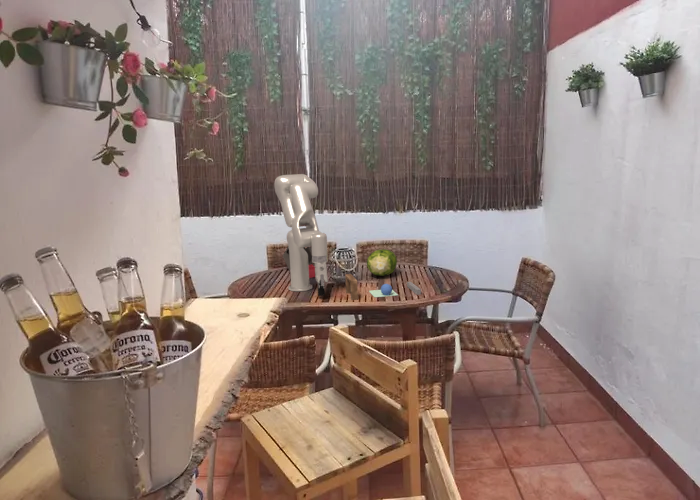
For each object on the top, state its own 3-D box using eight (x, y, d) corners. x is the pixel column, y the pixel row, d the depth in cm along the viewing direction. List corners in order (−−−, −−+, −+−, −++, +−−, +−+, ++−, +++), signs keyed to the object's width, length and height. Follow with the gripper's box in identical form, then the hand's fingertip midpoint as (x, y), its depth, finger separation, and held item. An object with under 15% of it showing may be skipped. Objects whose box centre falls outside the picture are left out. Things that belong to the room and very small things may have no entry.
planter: (278, 263, 319) (294, 235, 313) (281, 260, 326) (298, 232, 321) (301, 278, 318) (318, 250, 313) (304, 275, 325) (321, 248, 320)
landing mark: (368, 291, 268) (368, 290, 268) (391, 289, 270) (391, 288, 270) (374, 297, 256) (374, 296, 256) (398, 295, 259) (398, 294, 259)
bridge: (351, 300, 253) (351, 281, 251) (345, 292, 267) (345, 274, 265) (357, 299, 254) (357, 280, 252) (351, 291, 268) (351, 273, 266)
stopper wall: (407, 286, 274) (407, 282, 273) (410, 286, 274) (410, 281, 274) (416, 294, 258) (416, 289, 258) (420, 294, 259) (420, 289, 258)
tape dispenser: (316, 279, 297) (315, 270, 296) (299, 278, 301) (299, 269, 300) (325, 273, 310) (325, 265, 309) (310, 272, 314) (309, 264, 313)
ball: (381, 295, 262) (377, 285, 261) (391, 291, 263) (388, 280, 262) (384, 298, 257) (380, 287, 256) (395, 293, 258) (391, 283, 256)
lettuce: (364, 281, 288) (364, 254, 285) (370, 272, 308) (369, 246, 305) (394, 281, 285) (394, 254, 282) (397, 272, 305) (397, 246, 302)
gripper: (330, 261, 247) (331, 299, 251) (325, 255, 262) (326, 291, 265) (314, 262, 246) (315, 300, 249) (310, 256, 260) (311, 292, 264)
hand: (321, 295), depth 257 cm, fingers closed
